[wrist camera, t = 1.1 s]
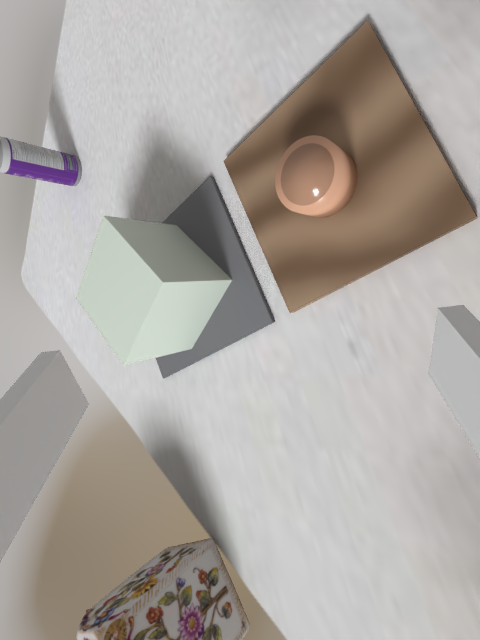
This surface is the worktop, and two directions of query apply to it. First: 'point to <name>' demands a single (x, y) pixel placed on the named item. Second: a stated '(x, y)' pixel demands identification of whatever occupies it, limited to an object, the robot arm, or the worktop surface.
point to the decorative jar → (171, 600)
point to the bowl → (315, 177)
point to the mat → (228, 253)
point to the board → (372, 180)
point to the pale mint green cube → (149, 288)
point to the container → (38, 163)
